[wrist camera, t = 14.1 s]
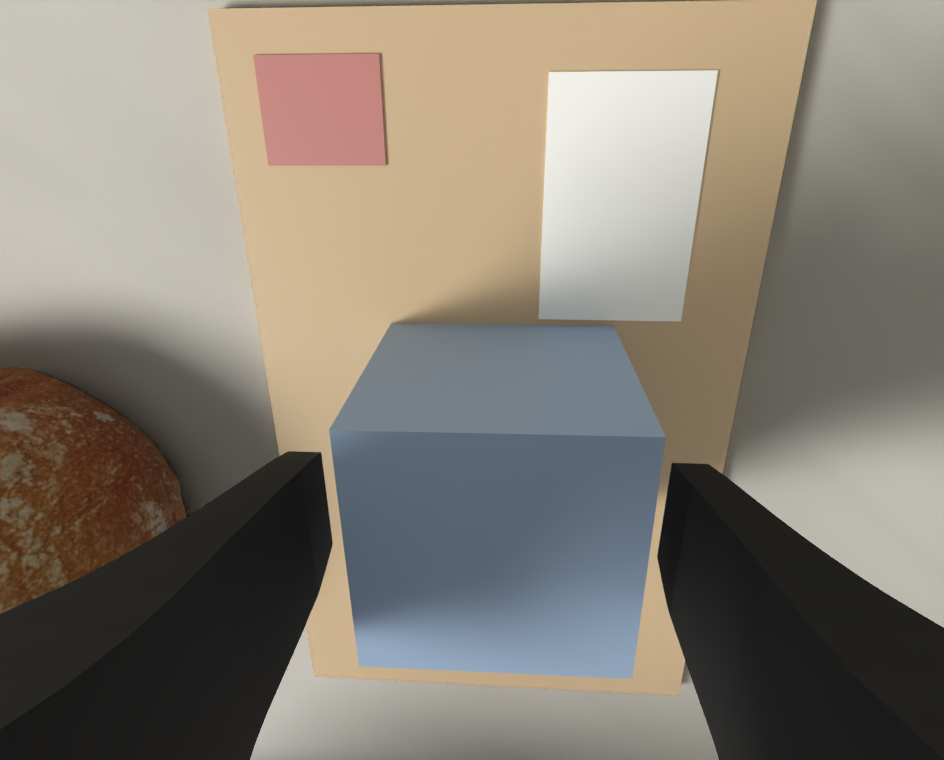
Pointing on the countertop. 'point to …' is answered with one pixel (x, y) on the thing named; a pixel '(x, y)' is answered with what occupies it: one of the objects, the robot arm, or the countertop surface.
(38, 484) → the bread roll
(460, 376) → the blue cube
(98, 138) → the countertop surface
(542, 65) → the envelope
